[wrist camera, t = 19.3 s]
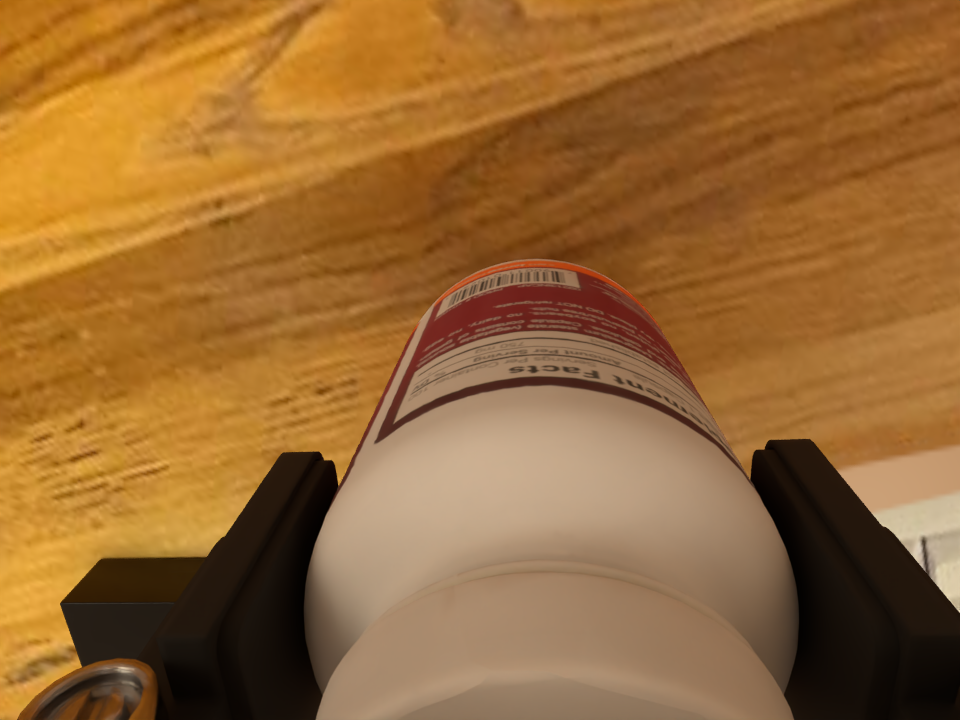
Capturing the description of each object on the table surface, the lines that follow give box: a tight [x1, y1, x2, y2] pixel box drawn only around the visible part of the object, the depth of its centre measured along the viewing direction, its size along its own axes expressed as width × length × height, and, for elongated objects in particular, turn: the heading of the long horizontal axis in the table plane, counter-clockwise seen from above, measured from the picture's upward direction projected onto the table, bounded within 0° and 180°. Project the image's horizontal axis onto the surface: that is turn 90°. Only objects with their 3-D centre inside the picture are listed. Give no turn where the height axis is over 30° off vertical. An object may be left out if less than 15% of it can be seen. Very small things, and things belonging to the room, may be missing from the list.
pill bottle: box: [304, 259, 799, 720], centre depth 11 cm, size 6×6×11 cm
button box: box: [60, 558, 206, 667], centre depth 22 cm, size 12×8×4 cm, turn 94°
